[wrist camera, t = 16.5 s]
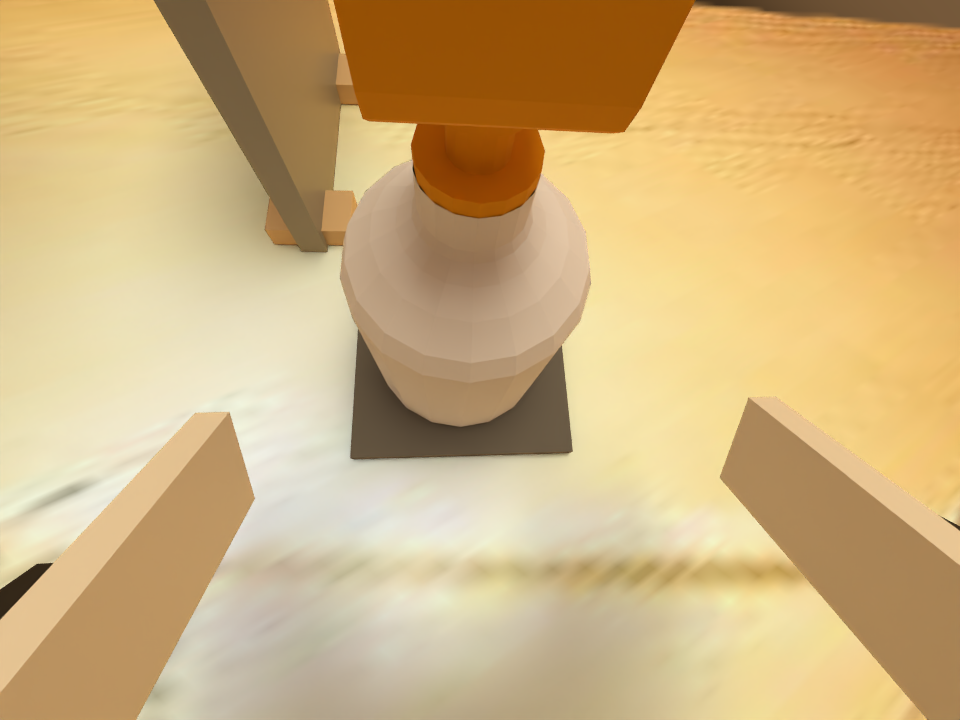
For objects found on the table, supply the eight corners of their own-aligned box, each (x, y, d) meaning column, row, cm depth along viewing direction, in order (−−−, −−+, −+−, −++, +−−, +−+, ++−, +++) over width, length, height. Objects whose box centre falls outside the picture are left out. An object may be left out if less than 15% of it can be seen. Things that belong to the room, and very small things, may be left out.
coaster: (353, 459, 23) (350, 457, 22) (364, 265, 26) (362, 259, 26) (568, 452, 24) (572, 451, 23) (550, 267, 27) (553, 261, 27)
